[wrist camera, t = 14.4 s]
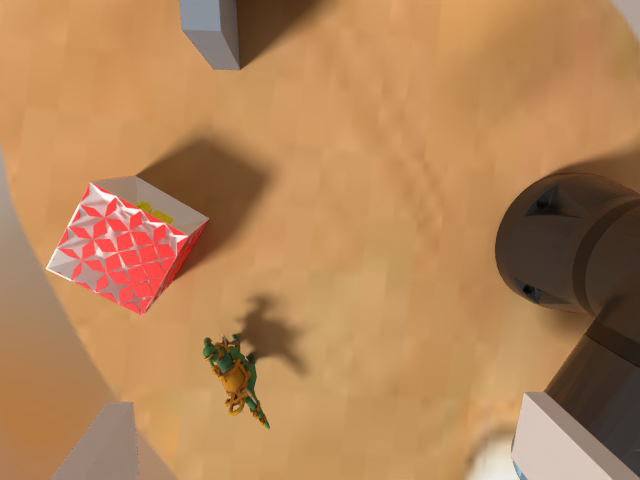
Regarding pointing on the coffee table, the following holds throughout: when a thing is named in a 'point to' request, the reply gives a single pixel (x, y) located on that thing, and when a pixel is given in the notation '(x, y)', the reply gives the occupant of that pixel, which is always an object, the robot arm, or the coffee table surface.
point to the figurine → (235, 376)
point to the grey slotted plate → (213, 30)
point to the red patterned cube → (126, 241)
